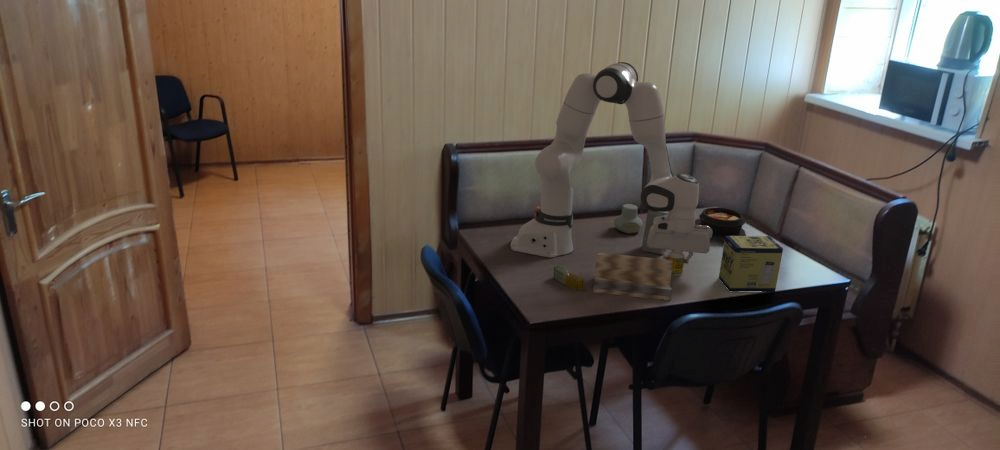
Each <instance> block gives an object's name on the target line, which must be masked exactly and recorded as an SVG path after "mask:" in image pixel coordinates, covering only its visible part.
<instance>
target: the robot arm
mask: <svg viewBox="0 0 1000 450" xmlns="http://www.w3.org/2000/svg"><path fill="white" fill-rule="evenodd" d="M601 101H602V102H606V103H611V104H617V105H625V107H626V110H627V113H628V114H627V115H628V121H629V128H630V132H631V134H632V135H631V136H632V137H633V140H634V141H635V143H637V144H639V145H642V147H644V148H645V150H646V152H647V155H648V160H649V165H650V170H651V177H650V180H649V182H648V183H647V184H646V185H645V186H644V187H643V189H642V191H641V192H640V202H641V204H642V206H643V207H644V208H645V209H646V210H647V211H648V210H650V211H655V212H667V211H668V215H663V216H658V217H655V218H654V221H653V225H652V226H651V228H650V230H649V234H648V238H647V246H648V247H649V248H656V249H661V253H662V254H661V255H662V256H663V258H662V259H666V260H668V254H666V251H667V250H668V251H671V250H674V249H681V251H683V252H685V253H687V252H688V254H687V256H685V257H684V264H686V265H688V264H689V263H690V262H689V261H690V259H691V258H692V257H693V256H694V254H696V253H698V254H708V253H709V252H710V247H711V243H710V239H711V238H713V237H712V233H713V231H712V229H711V228H710V227H709V226H702V225H696V224H695V220H696V219H697V212H696V209H697V206H698V204H699V195H700V185H699V181H698V180H697V178H696V177H694V176H693V175H692V176H691V175H690V174H686V173H676V175H674V173H673V172H672V168H671V165H670V158H669V153H668V147H667V143H666V142H667V141H666V140H667V139H666V123H665V121H666V119H665V113H664V108H663V107H664V106H663V101H662V98H661V94H660V92H659V88H658V87H657V86H656V85H655V84H654V83H652V82H649V81H648V82H647V81H643V82H639V74H638V71H637V70H636V68H635V67H634V65H633V64H631V63H628V62H624V61H623V62H622V61H620V62H616V63H613V64H610V65H608V66H606V67H605V68H603V69H601V70H600V71H598V73H597V74H596V75H594V74H592V73H586V72H584V73H580V74H578V75H577V76H576V77H575V78H574V80H573V82H572V84H571V85H570V87H569V89H568V90H567V93H566V95H565V97H564V100H563V102H562V106H561V108H560V111H559V113H558V117H557V119H556V122H555V123H556V124H555V125H556V130H555V136H554V139H553V140H552V142H551V143H550V144H549V145H547V146H545V147H544V148H543V149H541V150H540V152H539V153H538V155H537V157H536V158H535V160H534V166H535V171H536V173H537V174H538V175H539V180H540V186H541V195H540V206H538V205H537V206H535V208H534V214H533V215H534V216H533V218H532V219H531V220H529V221H528V222H526V223H524V224H522V226H521V227H520V229H519V230H518V233H517V235H516V236H514V237H513V238H512V240H511V242H510V249H511V250H512V251H514V252H519V253H524V254H528V255H529V254H530V255H534V256H535V255H536V256H540V257H545V258H556V257H558V256H564V255H568V254H570V253H572V252H573V251H574V245H573V238H572V227H573V222H574V221H573V220H574V212H573V201H574V189H573V188H572V185H571V179H570V175H571V171H572V170H573V169H574V168H576V167H577V166H578V165H579V164H580V162H581V160H582V158H583V155H584V148H585V144H586V139H587V135H588V132H589V129H590V127H591V124H592V122H593V119H594V117H595V114H596V111H597V108H598V106H599V104H600V102H601ZM708 228H709V229H708Z"/></svg>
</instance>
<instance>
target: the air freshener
mask: <svg viewBox="0 0 1000 450" xmlns="http://www.w3.org/2000/svg"><path fill="white" fill-rule="evenodd" d="M638 210H639V206H638V205H635V204H632V203H625V204H623V205H622V206H621V214H620V215H618V216H616V217H615V218H614V221H613V225H614V227H615V228H616V230H618V231H620V232H621V233H625V234H627V235H628V234H629V235H630V234H635V233H637V232H639V231H641V229H643V225H644V223H643V220H642V219H641V218H640V216H638V212H639V211H638Z"/></svg>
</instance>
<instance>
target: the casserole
mask: <svg viewBox="0 0 1000 450" xmlns="http://www.w3.org/2000/svg"><path fill="white" fill-rule="evenodd" d="M698 217H699V218H696V219H695V225H702V226H709V227H710V228H711V229H712V231H713V233H712V237H711V238H714V239H716V240H718V241H720V242H721V241H722V242H724V241H725V236H747V234H746V231H745V229H743V225H745V224H746V221H745V219H744V216H743V214H742V213H740V212H739V211H736V210H734V209H730V208H725V207H724V208H723V207H709V208H705V209H703V210H702V212H701V213H700V214H699V215H698ZM708 229H709V228H708Z"/></svg>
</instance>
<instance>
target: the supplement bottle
mask: <svg viewBox="0 0 1000 450" xmlns="http://www.w3.org/2000/svg"><path fill="white" fill-rule="evenodd" d="M667 255H668V260H673V266H672V273H671V276H672V275H673V276H672V277H679V276H681V275H682V274H683V272H684V264H685V263H684V257H686V255H685V253H684V251H681V249H674V250H669V252H668V254H667Z"/></svg>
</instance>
